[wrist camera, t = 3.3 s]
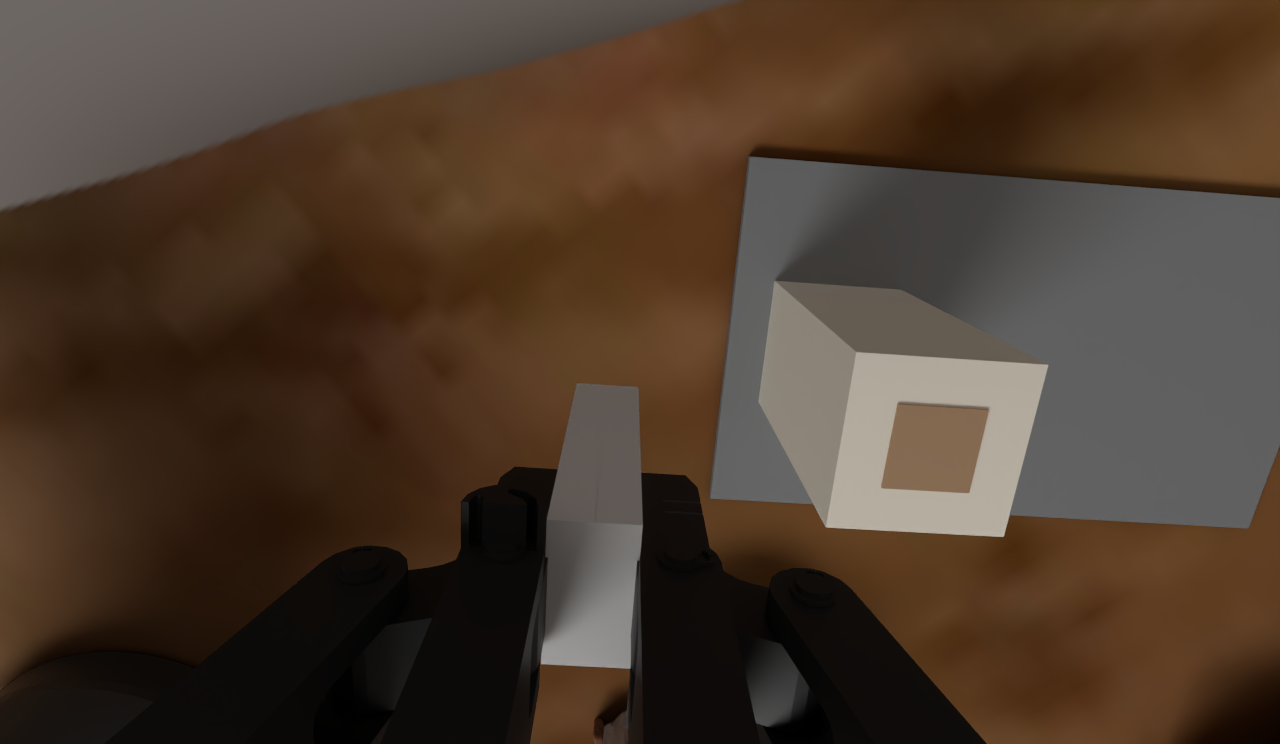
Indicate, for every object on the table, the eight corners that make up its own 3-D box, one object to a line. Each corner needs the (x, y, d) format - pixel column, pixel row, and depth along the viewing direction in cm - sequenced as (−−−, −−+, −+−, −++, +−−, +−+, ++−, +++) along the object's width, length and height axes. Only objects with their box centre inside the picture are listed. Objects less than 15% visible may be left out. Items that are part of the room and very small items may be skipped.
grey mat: (709, 494, 31) (710, 498, 30) (748, 156, 26) (750, 156, 26) (1240, 523, 32) (1248, 528, 31) (1360, 204, 27) (1370, 205, 27)
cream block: (758, 401, 29) (826, 528, 19) (774, 280, 27) (857, 352, 18) (878, 409, 29) (1004, 538, 19) (901, 289, 28) (1050, 365, 18)
